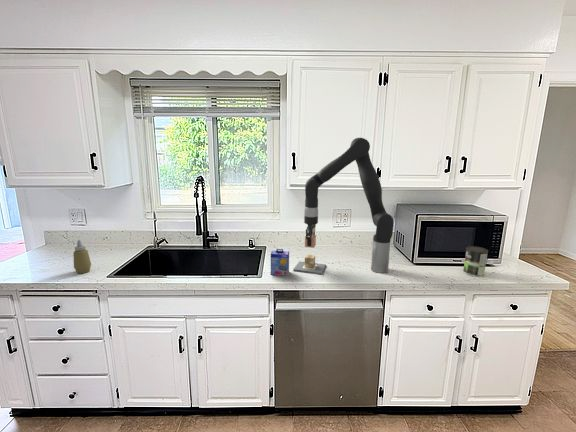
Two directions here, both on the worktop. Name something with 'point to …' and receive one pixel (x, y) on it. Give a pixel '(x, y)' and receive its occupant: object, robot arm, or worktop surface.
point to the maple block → (310, 261)
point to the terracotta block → (313, 241)
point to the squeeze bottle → (81, 259)
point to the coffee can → (475, 261)
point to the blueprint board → (316, 270)
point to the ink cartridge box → (279, 262)
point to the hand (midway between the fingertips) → (310, 244)
